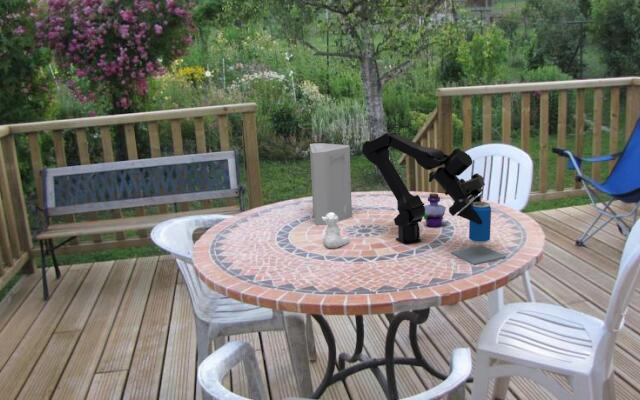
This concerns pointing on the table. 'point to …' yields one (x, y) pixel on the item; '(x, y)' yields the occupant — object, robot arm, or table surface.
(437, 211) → the potion bottle
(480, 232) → the beverage can
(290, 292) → the table surface
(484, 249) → the mat
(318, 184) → the gray triangular prism
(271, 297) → the table surface
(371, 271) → the table surface
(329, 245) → the sitting furry creature
